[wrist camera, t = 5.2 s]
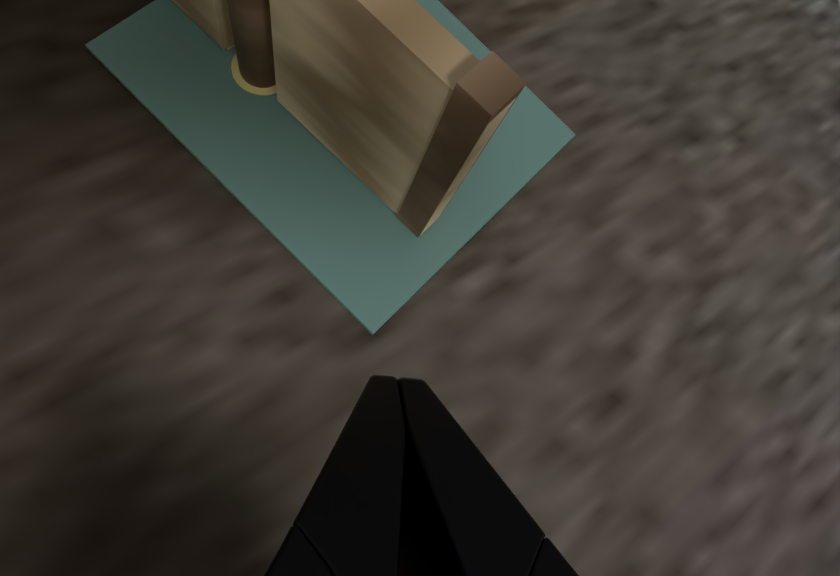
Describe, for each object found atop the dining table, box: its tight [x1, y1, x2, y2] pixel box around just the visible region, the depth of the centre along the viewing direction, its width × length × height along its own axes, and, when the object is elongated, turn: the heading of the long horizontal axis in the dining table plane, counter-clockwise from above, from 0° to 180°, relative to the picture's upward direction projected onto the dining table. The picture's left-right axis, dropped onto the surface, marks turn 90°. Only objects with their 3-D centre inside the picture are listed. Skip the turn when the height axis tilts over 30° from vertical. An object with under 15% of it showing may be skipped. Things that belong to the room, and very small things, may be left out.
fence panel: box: [269, 0, 526, 237], centre depth 19 cm, size 8×1×10 cm, turn 47°
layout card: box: [85, 0, 575, 335], centre depth 24 cm, size 16×13×1 cm
